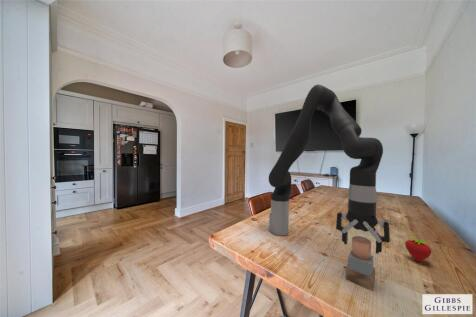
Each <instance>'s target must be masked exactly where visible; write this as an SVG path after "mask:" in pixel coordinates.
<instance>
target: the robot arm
mask: <svg viewBox="0 0 476 317" xmlns="http://www.w3.org/2000/svg"><path fill="white" fill-rule="evenodd" d="M315 110H318V111H322V112H323V113H325V114H326V115H327V116H328V117H329V120H330V125H331V128H332V129H333V131H334V132H335V134H336V135H337V137H339V139H340V142H341V146H342V149H343V152H344V154H345V155H346V156H347V157H349V158H350V159H353V160H360V162H359V164H358V165H356V166H352V167H350V169H349V185H348V186H349V187H348V191H347V192H348V193H347V200H348V202H347V205H348V206H347V213H346V212H345V213H344V212H343V211H341V210H339V211H338V212H337V214H336V225H335V229H336V230H337V231H340V232H341V241H342V242H343V244H344V245H347V244H348V242H349V241H348V240H349V239H348V238H349V230H351V229H352V228H354V230H356V231H359V230H360V231H363V232H369V233H370V234H371V236H373V238H374V239H375V254H377V255H380V254H379V253H382V250H383V243H389V242H390V241H391V240H390V238H391V237H390V236H391V233H390V221H389V220H386V219H384V220H381V219H380V220H379V219H378V218H377V200H378V199H377V198H378V197H377V194H378V193H377V187H376V186H377V184H376V183H377V172H378V169H379V168H380V167H379V166H380V163H381V161H382V158H383V153H384V148H383V143H382V142H381V140H379V139H377V138H376V137H364V136H363V137H361V134H362V131H363V130H362V127H361V126H360V125H359V124H358V123H357V121H355V119H354V118H353V117H352V116H351V115H350V114H349V113H348V112H347V111H346V110H345V108H344V107H343V105H342V104H341V102H340V100H339V98H338V96H337V95H336V93H335V92H334V91H333V90H332V89H329V88H328V87H326V86H324V85H322V84H315V85H314V86H313V87H311V88H310V90H309V91H308V92H307V95H306V97H305V100H304V102H303V105H302V108H301V109H300V113H299V115H298V118H297V120H296V123H295V124H294V126H293V128H292V130H291V132H290V135H289V136H288V139H286V143H285V144H284V147H283V149H282V151H281V153H280V155H279V157H278V159H277V161H276V162H275V165H274V166H273V168H272V169H271V170H270V173H269V174H268V183H269V185H270V186H271V187H273V188H274V190H273V192H272V193H271V194H270V212H269V214H268V215H269V216H268V232H270V233H271V234H273V235H276V236H281V237H283V236H287V235H289V233H290V232H289V231H290V229H289V225H290V224H289V222H290V218H289V216H290V196H291V192H292V176H291V172H290V171H289V170H291V167H292V165H293V164H294V163H295V162H296V161H297V160H298V159H299V158H300V157H301V155H303V152H304V151H305V150H306V149H307V146H308V144H309V142H310V140H311V135H312V130H311V129H312V127H311V123H312V118H313V115H314V114H315ZM345 218H346V219H347V221H348V224H346V225H345V226H343V225H342V224H343V220H344V219H345ZM377 225H379V226H380V228H381V229H383V235H380V233H379V232H378V230H377V229H376V226H377Z"/></svg>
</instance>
